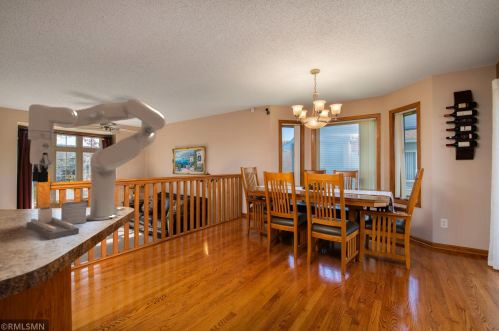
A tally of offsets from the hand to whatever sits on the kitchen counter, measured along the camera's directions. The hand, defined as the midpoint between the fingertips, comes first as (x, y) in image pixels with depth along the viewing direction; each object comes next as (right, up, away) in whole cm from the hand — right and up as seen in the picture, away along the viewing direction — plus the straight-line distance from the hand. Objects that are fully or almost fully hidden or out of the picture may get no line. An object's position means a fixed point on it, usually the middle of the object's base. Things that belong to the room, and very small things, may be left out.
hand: (40, 181), depth 91 cm
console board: (+11, -18, -7) cm, 22 cm away
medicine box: (+11, -18, +4) cm, 21 cm away
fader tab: (+5, -15, -4) cm, 17 cm away
